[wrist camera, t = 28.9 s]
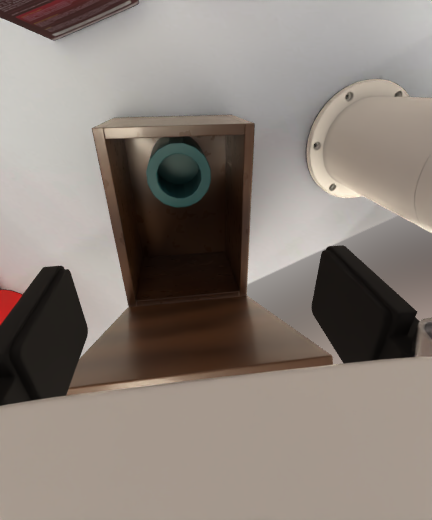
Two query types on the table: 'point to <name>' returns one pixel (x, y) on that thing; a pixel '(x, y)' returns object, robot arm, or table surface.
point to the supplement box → (60, 14)
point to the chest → (179, 209)
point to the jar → (178, 171)
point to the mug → (7, 302)
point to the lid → (192, 345)
